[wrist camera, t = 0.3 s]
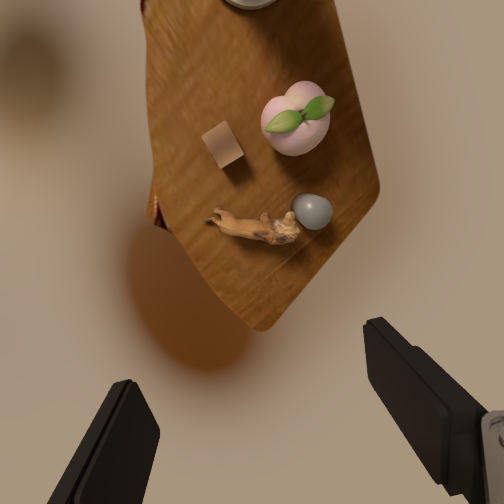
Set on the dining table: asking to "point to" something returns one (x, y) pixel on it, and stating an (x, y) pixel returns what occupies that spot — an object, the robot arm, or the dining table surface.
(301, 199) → the light grey cylinder
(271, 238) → the lion figurine
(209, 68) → the dining table surface
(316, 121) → the decorative fruit
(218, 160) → the pale beige block
